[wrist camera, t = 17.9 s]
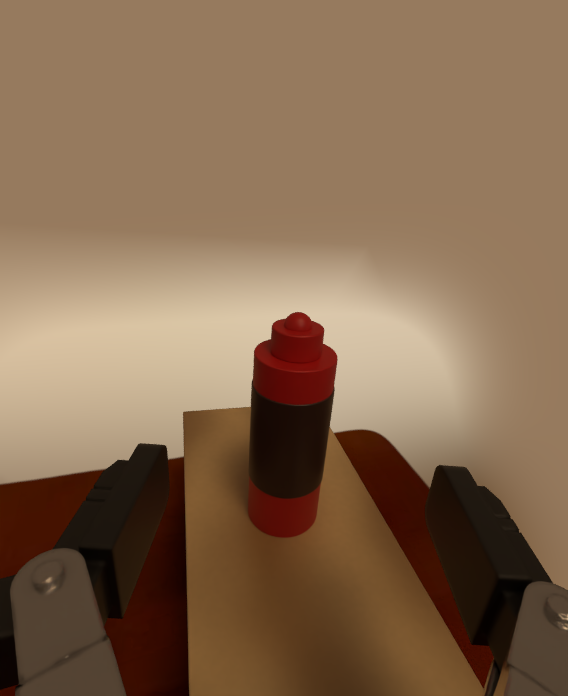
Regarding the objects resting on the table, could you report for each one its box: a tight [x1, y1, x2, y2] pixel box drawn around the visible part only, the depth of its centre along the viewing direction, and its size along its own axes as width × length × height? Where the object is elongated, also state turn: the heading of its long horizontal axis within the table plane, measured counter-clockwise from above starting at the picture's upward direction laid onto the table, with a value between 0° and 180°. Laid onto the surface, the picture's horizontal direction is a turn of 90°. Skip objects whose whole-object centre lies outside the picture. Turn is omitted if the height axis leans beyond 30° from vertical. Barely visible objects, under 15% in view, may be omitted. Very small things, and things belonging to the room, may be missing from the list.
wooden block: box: [183, 407, 484, 696], centre depth 22 cm, size 10×20×8 cm, turn 14°
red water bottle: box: [248, 312, 337, 538], centre depth 19 cm, size 4×4×11 cm
